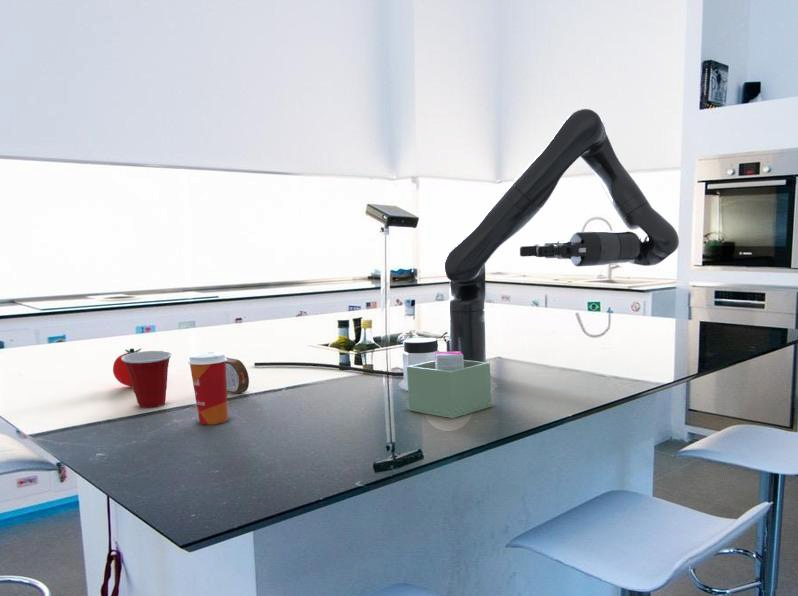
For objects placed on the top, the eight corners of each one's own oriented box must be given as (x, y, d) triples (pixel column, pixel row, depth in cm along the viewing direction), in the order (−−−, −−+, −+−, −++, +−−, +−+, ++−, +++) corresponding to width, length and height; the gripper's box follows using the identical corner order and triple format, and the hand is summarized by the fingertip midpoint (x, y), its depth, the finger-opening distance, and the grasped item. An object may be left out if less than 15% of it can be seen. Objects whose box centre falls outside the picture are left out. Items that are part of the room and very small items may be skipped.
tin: (251, 394, 184) (248, 359, 182) (240, 396, 182) (236, 361, 180) (218, 387, 194) (215, 354, 192) (207, 389, 192) (204, 356, 190)
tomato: (106, 389, 197) (101, 351, 195) (136, 381, 207) (131, 345, 205) (136, 390, 193) (132, 352, 191) (166, 382, 203) (161, 346, 201)
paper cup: (199, 417, 161) (192, 352, 158) (236, 415, 162) (229, 351, 159) (190, 426, 153) (182, 358, 151) (228, 424, 154) (222, 357, 151)
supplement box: (465, 408, 158) (463, 354, 156) (437, 409, 158) (434, 355, 155) (462, 402, 164) (461, 350, 161) (435, 403, 163) (433, 351, 161)
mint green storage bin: (408, 410, 160) (406, 366, 158) (448, 399, 169) (446, 357, 167) (452, 418, 152) (450, 372, 150) (491, 406, 161) (489, 362, 159)
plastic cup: (129, 412, 168) (122, 359, 166) (125, 404, 178) (118, 353, 175) (180, 406, 173) (174, 354, 171) (173, 397, 183) (167, 348, 180)
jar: (444, 391, 178) (443, 340, 176) (412, 394, 176) (409, 343, 173) (432, 384, 187) (430, 336, 184) (401, 388, 184) (398, 339, 182)
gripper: (578, 231, 175) (514, 234, 169) (611, 230, 161) (543, 233, 156) (578, 264, 176) (515, 268, 171) (611, 266, 163) (543, 270, 158)
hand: (528, 251), depth 163 cm, fingers open, 8 cm apart
